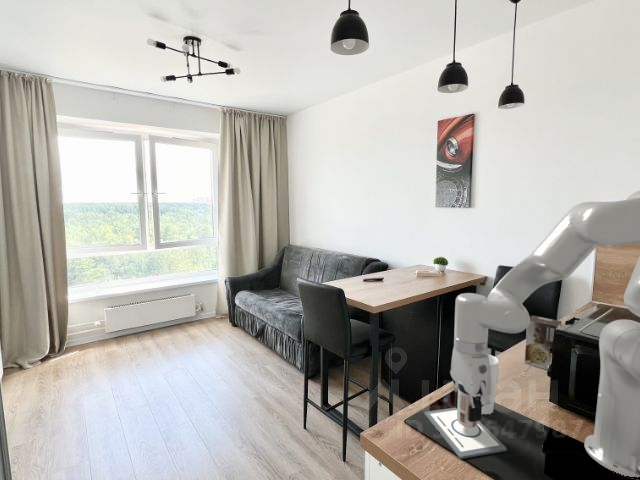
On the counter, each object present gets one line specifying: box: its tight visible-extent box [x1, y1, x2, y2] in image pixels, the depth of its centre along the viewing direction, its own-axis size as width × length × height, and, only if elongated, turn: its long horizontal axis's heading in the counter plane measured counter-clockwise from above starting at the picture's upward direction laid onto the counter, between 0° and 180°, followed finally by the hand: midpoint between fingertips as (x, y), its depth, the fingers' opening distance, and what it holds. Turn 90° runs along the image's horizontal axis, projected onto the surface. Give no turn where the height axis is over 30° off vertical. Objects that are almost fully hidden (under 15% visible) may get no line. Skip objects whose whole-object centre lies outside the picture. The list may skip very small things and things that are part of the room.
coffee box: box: [524, 314, 562, 371], centre depth 119 cm, size 9×6×16 cm
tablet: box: [423, 407, 508, 460], centre depth 87 cm, size 16×12×1 cm
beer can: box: [457, 382, 478, 428], centre depth 86 cm, size 5×5×12 cm
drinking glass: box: [481, 353, 500, 415], centre depth 94 cm, size 7×7×15 cm
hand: (467, 412), depth 86 cm, fingers closed on beer can, 4 cm apart
